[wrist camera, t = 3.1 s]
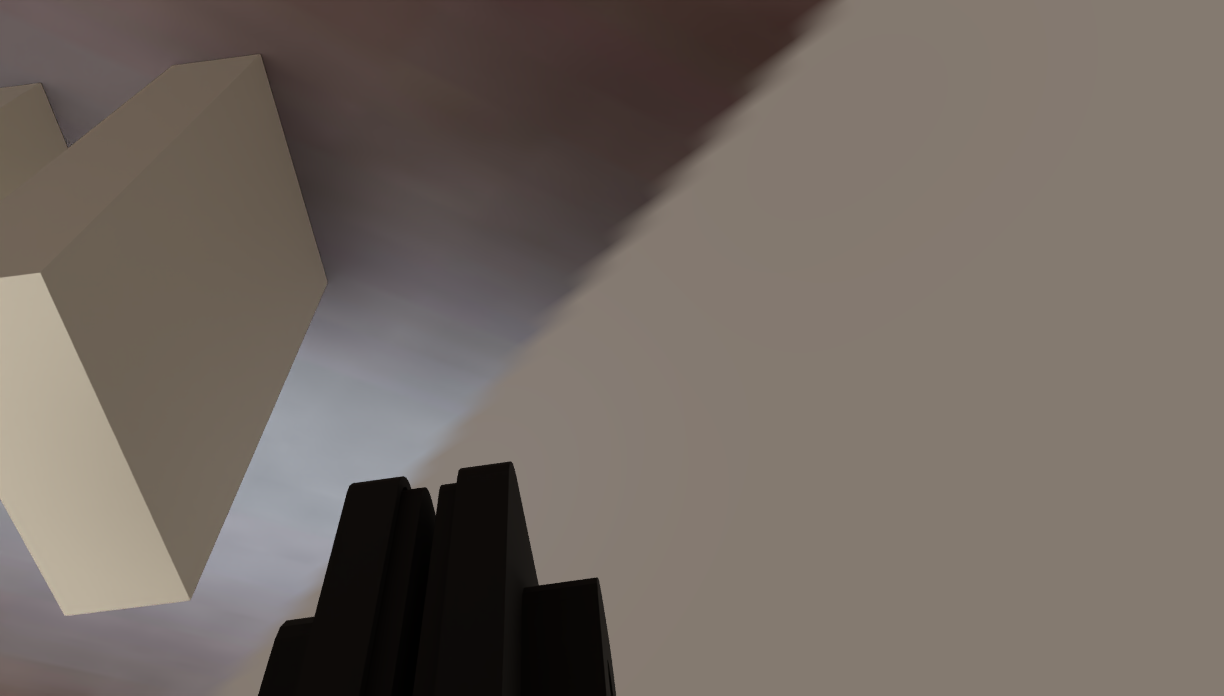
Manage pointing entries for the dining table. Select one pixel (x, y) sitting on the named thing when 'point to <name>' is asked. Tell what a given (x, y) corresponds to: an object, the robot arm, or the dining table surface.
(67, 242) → the tile
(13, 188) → the tile
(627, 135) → the dining table surface
